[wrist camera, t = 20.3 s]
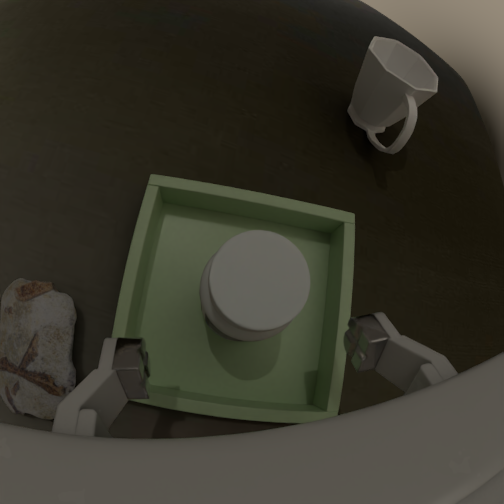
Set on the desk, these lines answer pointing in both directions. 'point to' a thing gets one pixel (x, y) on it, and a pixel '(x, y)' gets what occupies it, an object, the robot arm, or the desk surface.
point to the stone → (36, 347)
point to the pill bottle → (254, 286)
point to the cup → (390, 90)
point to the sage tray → (192, 320)
